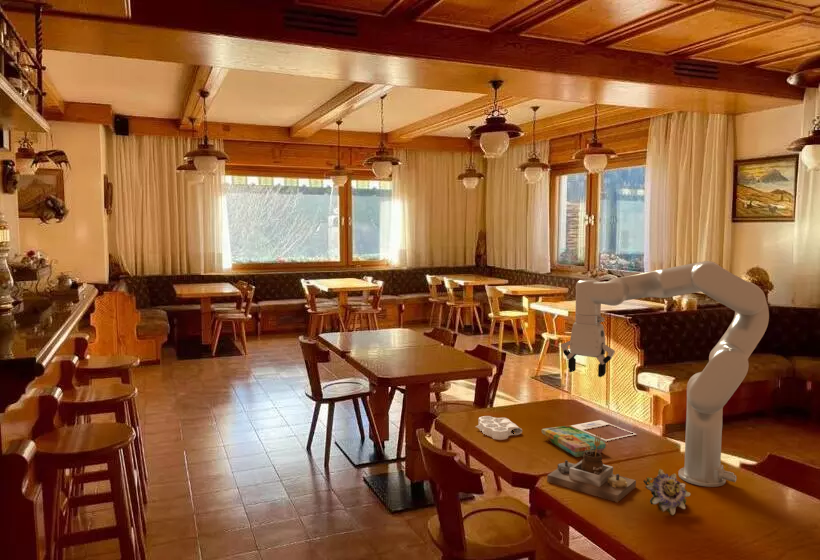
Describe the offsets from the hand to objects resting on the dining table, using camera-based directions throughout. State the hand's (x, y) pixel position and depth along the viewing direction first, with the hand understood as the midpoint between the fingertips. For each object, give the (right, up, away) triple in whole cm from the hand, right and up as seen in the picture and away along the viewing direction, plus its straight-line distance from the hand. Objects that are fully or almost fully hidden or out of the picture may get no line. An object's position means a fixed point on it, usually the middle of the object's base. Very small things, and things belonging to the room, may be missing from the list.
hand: (586, 373), depth 192 cm
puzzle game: (0, -28, +16) cm, 32 cm away
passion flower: (+12, -31, -29) cm, 44 cm away
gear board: (-3, -30, -15) cm, 33 cm away
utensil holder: (-3, -28, -15) cm, 32 cm away
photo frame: (+15, -26, +32) cm, 44 cm away
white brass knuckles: (-24, -26, +32) cm, 48 cm away
